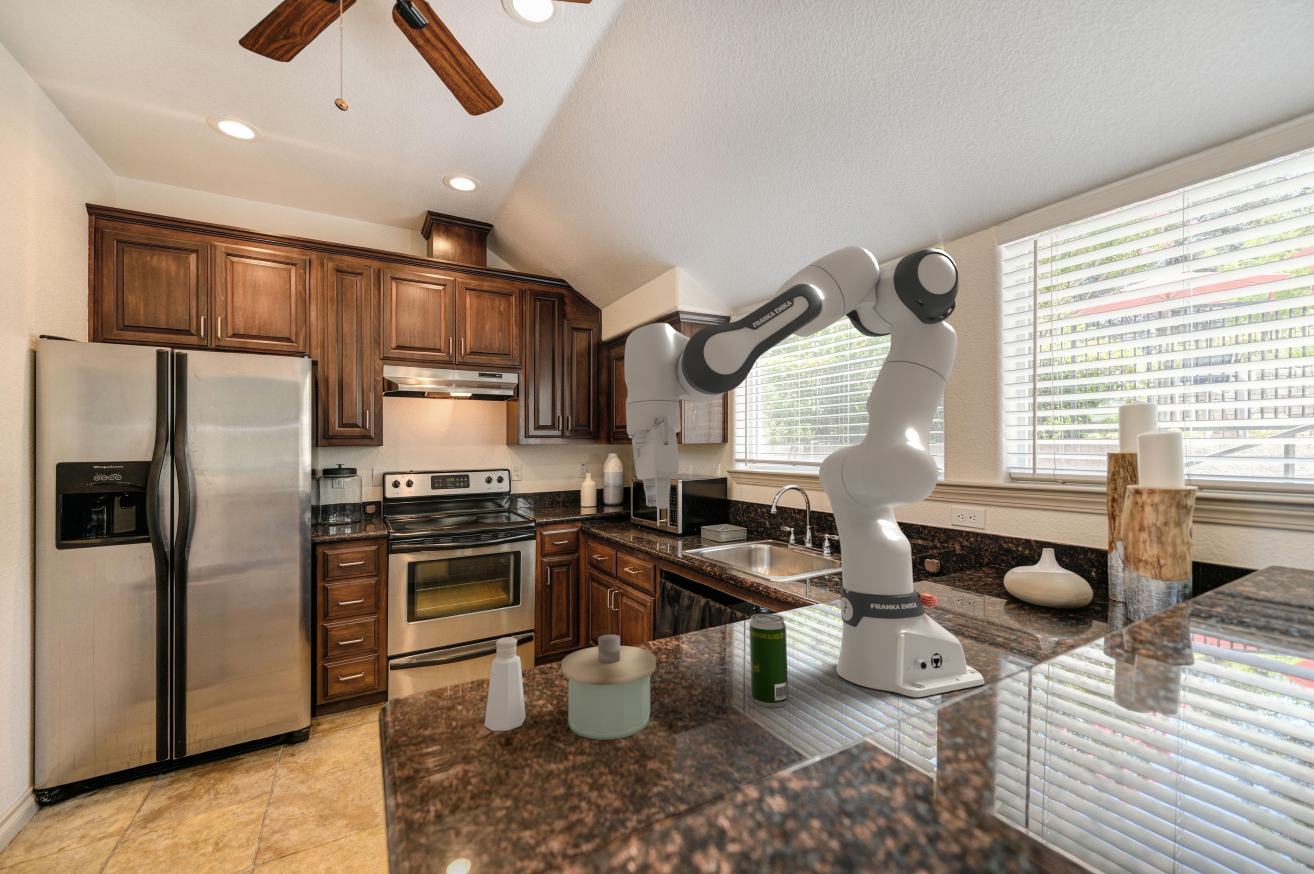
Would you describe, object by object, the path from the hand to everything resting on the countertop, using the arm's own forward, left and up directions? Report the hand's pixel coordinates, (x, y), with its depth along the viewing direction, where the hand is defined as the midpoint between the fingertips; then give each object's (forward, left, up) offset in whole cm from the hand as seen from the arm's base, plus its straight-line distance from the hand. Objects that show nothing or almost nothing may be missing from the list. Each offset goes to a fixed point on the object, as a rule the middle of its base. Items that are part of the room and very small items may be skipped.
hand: (657, 507), depth 84 cm
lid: (+8, +9, -22) cm, 25 cm away
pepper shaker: (+22, +7, -29) cm, 37 cm away
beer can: (-16, +7, -29) cm, 33 cm away
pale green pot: (+8, +9, -29) cm, 31 cm away
